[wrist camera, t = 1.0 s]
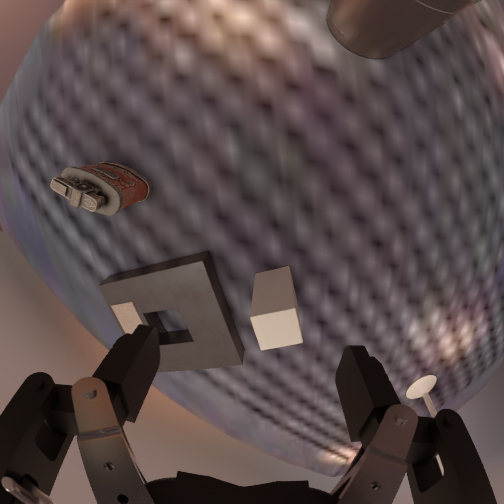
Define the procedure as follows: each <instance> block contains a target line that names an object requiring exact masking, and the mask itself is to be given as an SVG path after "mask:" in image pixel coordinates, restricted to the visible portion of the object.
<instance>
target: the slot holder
mask: <svg viewBox="0 0 504 504" xmlns="http://www.w3.org/2000/svg"><path fill="white" fill-rule="evenodd" d="M99 288H100V290H101V292H102V294H103V296H104V298H105V300H106V302H107V304H108V306H109V308H110V310H111V312H112V314H113V316H114V318H115V320H116V322H117V323H118V325H119V327H120V329H121V331H122V332H123V334H124V335H125V334H126V333H130V334H132V333H133V332H134V330H135V329H136V327H137V326H138V325H139V324H143V325H148V326H153V327H156V328H157V330H158V338H159V347H160V355H161V357H160V365H159V368H158V370H157V372H169V371H185V370H198V369H209V368H218V367H227V366H235V365H242V364H243V357H244V347H243V345H242V342H241V340H240V337H239V334H238V332H237V329H236V327H235V324H234V321H233V318H232V316H231V313H230V310H229V308H228V305H227V302H226V299H225V297H224V294H223V291H222V288H221V286H220V283H219V280H218V277H217V274H216V271H215V268H214V266H213V263H212V260H211V257H210V254H209V251H206V252H202V253H198V254H194V255H190V256H186V257H182V258H178V259H174V260H170V261H166V262H162V263H158V264H154V265H150V266H146V267H142V268H138V269H134V270H130V271H126V272H123V273H119V274H115V275H111V276H109V277H108V278H107V279H105V280H104V281H103V282H102V283H101V284H100V285H99ZM173 308H179V310H180V312H181V315H182V317H183V319H184V321H185V323H186V326H187V328H188V330H181V331H173V332H166V331H165V329H164V327H163V325H162V323H161V321H160V319H159V316H158V314H157V312H156V311H161V310H167V309H173Z"/></svg>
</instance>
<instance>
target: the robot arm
mask: <svg viewBox="0 0 504 504" xmlns="http://www.w3.org/2000/svg"><path fill="white" fill-rule="evenodd" d="M479 1H481V0H332V2H331V4H330V6H329V9H328V12H327V23H328V26H329V29H330V30H331V32H332V34H333V35H334V37H335V38H336V39H337V40H338V41H339V42H340V43H341V44H342V45H343V46H344V47H346V48H348V49H349V50H350V51H352V52H354V53H356V54H358V55H361V56H364V57H367V58H373V59H383V58H387V57H390V56H392V55H393V54H395V53H396V52H398V51H399V50H401V49H402V48H407V47H408V46H410V45H411V44H413V43H414V42H416V41H417V40H419V39H420V38H422V37H424V36H425V35H427V34H428V33H430V32H432V31H433V30H435V29H436V28H438V27H440V26H441V25H443V24H444V23H445V21H446V20H447V19H449V18H451V17H452V16H454V15H456V14H457V13H459V12H461V11H462V10H464V9H466V8H468V7H470V6H471V5H473V4H475V3H477V2H479ZM160 357H161V355H160V347H159V338H158V330H157V328H156V327H153V326H148V325H143V324H139V325H138V326H137V327H136V329H135V330H134V332H133V333H132V334H130V333H126V334H125V335H123V336H122V337H120V338H119V339H118V340H117V341H116V342H115V344H114V345H113V348H111V349H110V351H109V352H108V354H107V355H106V357H105V358H104V359H103V361H102V363H101V364H100V365H99V367H98V368H97V370H96V371H95V373H94V374H93V376H92V377H85V378H82V379H80V380H78V381H77V382H75V384H74V385H73V386H72V385H60V384H55V383H54V381H53V379H52V377H51V376H50V375H49V374H47V373H44V372H37V373H33V374H31V375H30V376H29V377H27V379H26V380H25V381H24V382H23V384H22V385H21V386H20V388H19V389H18V391H17V392H16V393H15V395H14V396H13V398H12V399H11V401H10V402H9V404H8V405H7V406H6V408H5V410H4V411H3V412H2V414H1V415H0V504H53V502H52V500H51V499H50V498H49V496H50V493H51V490H52V488H53V485H54V482H55V480H56V477H57V475H58V472H59V470H60V467H61V465H62V463H63V460H64V458H65V456H66V453H67V451H68V449H69V446H70V444H71V442H72V440H73V438H74V436H75V435H77V442H78V447H79V450H80V454H81V457H82V461H83V464H84V468H85V471H86V474H87V477H88V480H89V483H90V486H91V488H92V491H93V494H94V496H95V499H96V501H97V504H392V502H393V500H394V498H395V496H396V494H397V492H398V489H399V487H400V485H401V483H402V480H403V478H404V476H405V473H406V472H407V476H408V480H409V484H410V488H411V492H412V497H413V501H414V504H497V502H496V499H495V496H494V493H493V490H492V487H491V485H490V482H489V479H488V477H487V474H486V472H485V469H484V466H483V464H482V462H481V459H480V457H479V455H478V452H477V450H476V448H475V446H474V444H473V441H472V439H471V437H470V435H469V433H468V431H467V429H466V427H465V424H464V422H463V420H462V419H461V417H460V415H459V414H458V413H457V412H455V411H453V410H451V409H443V410H440V411H439V412H438V413H437V414H436V416H435V417H434V418H432V417H420V416H417V414H416V412H415V411H414V410H413V409H412V408H410V407H409V406H406V405H403V404H401V403H400V401H399V399H398V396H397V394H396V392H395V390H394V388H393V386H392V384H391V382H390V381H389V378H388V376H387V374H386V372H385V370H384V368H383V366H382V364H381V363H380V362H379V361H378V360H377V359H376V358H375V357H370V356H369V354H368V352H367V350H366V348H365V346H363V345H361V346H351V345H348V346H346V348H345V350H344V353H343V355H342V358H341V361H340V364H339V366H338V369H337V372H336V378H335V381H336V387H337V390H338V394H339V397H340V401H341V405H342V408H343V412H344V416H345V420H346V423H347V427H348V431H349V435H350V439H351V442H356V441H361V443H362V446H361V448H360V449H359V451H358V453H357V454H356V456H355V458H354V459H353V461H352V463H351V464H350V466H349V467H348V469H347V471H346V472H345V474H344V475H343V477H342V478H341V480H340V481H339V483H338V484H337V485H336V486H335V487H334V489H333V490H332V491H331V492H330V494H329V493H327V492H324V491H322V490H319V489H315V488H310V487H309V483H308V481H276V482H271V483H265V484H260V485H254V486H247V487H242V486H238V485H234V484H231V483H228V482H225V481H221V480H219V479H216V478H213V477H210V476H203V475H197V474H192V473H186V472H181V471H178V472H177V477H176V478H163V479H158V480H154V481H150V482H148V481H147V479H146V478H145V475H144V474H143V472H142V470H141V468H140V466H139V464H138V462H137V460H136V458H135V455H134V453H133V451H132V449H131V447H130V444H129V442H128V440H127V437H126V434H125V432H124V429H123V425H124V423H125V421H126V420H127V421H130V422H133V423H135V421H136V418H137V416H138V414H139V411H140V409H141V407H142V404H143V402H144V399H145V397H146V395H147V393H148V390H149V388H150V386H151V384H152V381H153V379H154V377H155V375H156V372H157V370H158V368H159V365H160ZM437 455H439V458H440V460H441V463H442V466H443V469H444V474H443V475H442V472H441V469H440V466H439V463H438V460H437V458H436V456H437Z"/></svg>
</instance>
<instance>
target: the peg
mask: <svg viewBox="0 0 504 504" xmlns="http://www.w3.org/2000/svg"><path fill="white" fill-rule="evenodd" d="M250 319H251V322H252V325H253V328H254V331H255V334H256V337H257V339H258V342H259V345H260V348H261V350H266V349H272V348H278V347H283V346H288V345H294V344H299V343H303V340H302V333H301V326H300V319H299V312H298V305H297V299H296V293H295V289H294V285H293V280H292V276H291V272H290V267H289V266H287V267H282V268H278V269H274V270H269V271H265V272H260V273H255V281H254V289H253V297H252V305H251V313H250Z"/></svg>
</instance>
